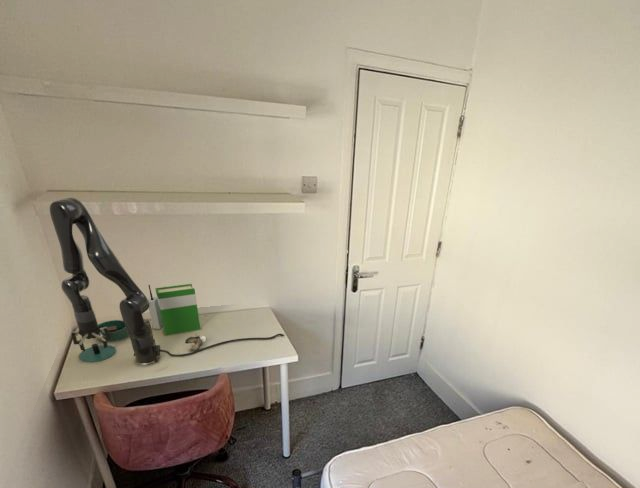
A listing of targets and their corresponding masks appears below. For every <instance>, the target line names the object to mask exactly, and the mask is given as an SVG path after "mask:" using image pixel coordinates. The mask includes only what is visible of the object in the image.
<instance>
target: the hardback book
mask: <svg viewBox="0 0 640 488" xmlns="http://www.w3.org/2000/svg"><path fill="white" fill-rule="evenodd" d="M154 289H155V294H156V297H157V300H158V304H159V309H160V314H161V319H162V324H163V326H162V329H163V331H164V334H165V336H170V335H175V334H181V333H187V332H193V331H199V330H201V323H200V317H199V309H198V303H197V296H196V289H195V287H193V284H192V283H186V284H177V285H171V286H162V287H154Z"/></svg>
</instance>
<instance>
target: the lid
mask: <svg viewBox="0 0 640 488" xmlns="http://www.w3.org/2000/svg"><path fill="white" fill-rule="evenodd" d="M114 355H116V348H115V347H114V346H112V345H108V346H107V347H106V348H104V344H98V343H92V344H91V346H90V347H87V348H85V351H83V350H81V352H80V353H79V354H78V359H79V360H80V361H81V362H84V363H99V362H103V361H105V360H106V361H107V360H108V359H109V358H112V357H113V356H114Z"/></svg>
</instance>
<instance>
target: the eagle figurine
mask: <svg viewBox="0 0 640 488" xmlns="http://www.w3.org/2000/svg"><path fill="white" fill-rule="evenodd" d="M206 340H207V337H206V336H205V335H201V336H200V335H197V333H195V336H189V337H187V338H186V339H185V342H184V344H186V345H188V344H189V345H190V344H192V347H191V348H190V349H189V350H190V352H194V351H197V350H199V349H201V347H202V346H203V343H205V342H206Z"/></svg>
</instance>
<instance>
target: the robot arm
mask: <svg viewBox="0 0 640 488" xmlns="http://www.w3.org/2000/svg"><path fill="white" fill-rule="evenodd" d="M49 215H50V218H51V219H50V220H51V222H52V224H53V227H54V231H55V234H56V238H57V240H58V243H59V248H60V252H61V260H62V266H63V270H64V271H65V273H68V274H69V275H71V276H69V277H67V278H64V279H63V280H62V281H61V285H60V286H61V290H62V292H63V293H64V295H65V296H66V298H67V299H68V301H69V302H70V304H71V307H72V310H73V315H74V318H75V322H76V325H77V328H78V331H75V330H71V338H72V343H73V345H78V346H79V348H80V350H81V351H85V349H86V347H85V345H84V342H85V341H86V340H90V339H96V338H97V339H98V338H99V339H101V340H103V341H102V343H103V344H102V345H104V348H106V347H107V346H109V345H108V342H107V341H106V340H109V339H110V335H109V332H108V329H107V327H106V326H104V328H99V327H98V325H99V324H98V320H97V317H96V314H95V311H94V309H93V306H92V302H91V300H90V297H89V296H88V295H85V294H84V295H83V294H81V292H83V291H86V290H87V289H88V288H89V286H90V279H89V276H88V274H87V271H86V269H85V265H84V256H83V255H84V254H83V252H82V250H81V247H80V246H79V244H78V243H77V241H76V240H75V237H74V234H73V225H75V226H76V227H77V229H78V230H79V232H80V234H81V235H82V238H83V240H84V245H85V246H84V247H85V252H86V256H87V258H88V260H89V262H90V263H91V264H92V266H93V267H94V269H95V270H96V271H97V272H98V274H100V275H101V276H102V277H104V278H105V279H107V280H109V281H110V282H112V283H114V284H115V285H116V286H117V287H118V288H119V289H120V290H121V291H122V293H123V294H124V296H125V298H123V299H122V300H121V301H120V302H119V312H120V315H121V319H122V321H124V324H125V325H126V327H127V328H128V331H129V335H128V336H129V339H130V343H131V346H132V351H133V357H134V358H135V362H136V364H138V365H139V366H140V365H142V366H150V365H154V364H155V363H159V357H161V353H165V354H167V355H168V356H171V357H185V356H186V357H187V356H191V355H195V354H196V353H199V352H202V351H205V350H207V349H210V348H214V347H216V346H219V345H223V344H227V343H233V342H238V341H250V340H251V341H252V340H271V339H274V338H276V337H278V336H281V337H285V335H284V334H282V333H277V334H275V335H272V336H269V337H245V338H244V337H243V338H235V339H230V340H225V341H224V340H223V341H221V342H218V343H214V344H211V345H208V346H205V347H203V348H199V350H197V351H194V352H192V351H190V352H187V353H182V354H173V353H171V352H170V351H168V350H165V349H161V345H160V344H157V343H156V340H155V338H154V334H153V328H152V324H151V322H150V321H149V320H148V319H144V317H143V314H144V313H145V312H146V311H149V301H148V300H149V298H148V297H147V296H146V294H145V293H144V292H143V291H142V289H140V287H139V286H138V285H137V284H136V282H135V281H134V280H133V278H132V277H131V276H130V274H129V273H128V272H127V271H126V270H127V269H125V267H124V266H123V265H122V263H121V262H120V260H119V258H118V256H117V255H116V254H115V253H114V251H113V249H111V247H110V246H109V244H108V242H107V241H106V239H105V238H104V237H103V235H102V234H101V232H100V231H99V229H98V227H97V225H96V224H95V222H94V220H93V218H92V216H91V215H90V213H89V211H88V209H87V207H86V206H85V205H84V204H83V203H82V202H81V200H79V199H77V198H75V197H65V198H62V199H58V200H55V201H53V202H51V203H50V205H49ZM100 331H103V332H105V334H106V337H104V336H103V335H102V334H101V333H100ZM78 335H79V336H80V339H79V340H78V339H77V337H78ZM99 339H98V340H99ZM101 340H100V341H101Z"/></svg>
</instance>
